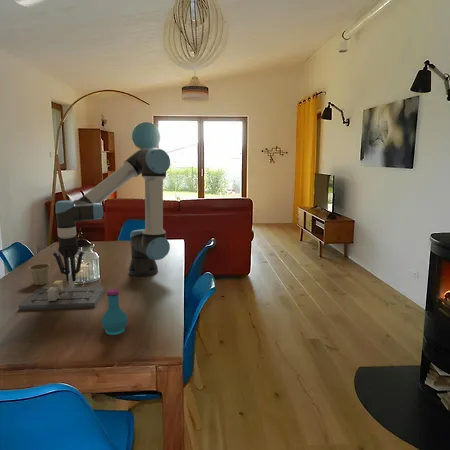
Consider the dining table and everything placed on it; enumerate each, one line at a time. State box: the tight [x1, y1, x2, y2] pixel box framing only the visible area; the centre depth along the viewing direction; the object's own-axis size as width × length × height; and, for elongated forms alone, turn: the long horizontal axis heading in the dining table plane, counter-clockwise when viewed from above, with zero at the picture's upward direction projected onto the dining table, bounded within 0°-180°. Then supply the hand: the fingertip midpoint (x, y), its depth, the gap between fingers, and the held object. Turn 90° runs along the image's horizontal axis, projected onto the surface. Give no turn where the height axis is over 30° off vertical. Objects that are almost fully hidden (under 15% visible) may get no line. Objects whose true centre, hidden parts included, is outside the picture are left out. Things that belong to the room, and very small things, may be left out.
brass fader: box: [52, 279, 64, 293], centre depth 175 cm, size 3×4×4 cm
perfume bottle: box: [100, 288, 129, 336], centre depth 141 cm, size 9×9×15 cm
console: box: [18, 286, 105, 311], centre depth 172 cm, size 30×20×2 cm, turn 96°
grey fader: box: [47, 286, 59, 301], centre depth 166 cm, size 3×4×4 cm
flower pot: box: [28, 263, 51, 286], centre depth 193 cm, size 9×9×9 cm
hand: (72, 288), depth 176 cm, fingers closed
